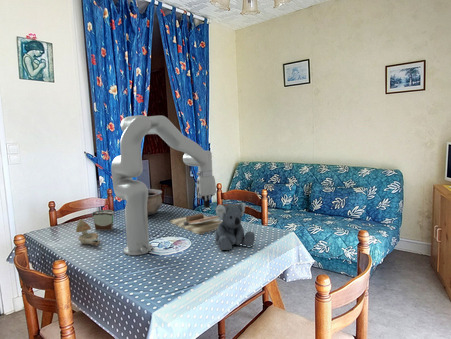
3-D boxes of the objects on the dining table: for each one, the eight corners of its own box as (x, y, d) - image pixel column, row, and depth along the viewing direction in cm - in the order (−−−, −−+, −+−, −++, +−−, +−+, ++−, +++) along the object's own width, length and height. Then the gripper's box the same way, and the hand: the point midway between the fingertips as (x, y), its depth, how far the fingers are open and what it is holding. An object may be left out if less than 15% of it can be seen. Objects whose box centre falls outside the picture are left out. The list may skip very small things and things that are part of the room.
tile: (208, 217, 182) (208, 219, 182) (187, 221, 173) (188, 224, 173) (220, 215, 172) (221, 217, 172) (199, 220, 163) (200, 223, 163)
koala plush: (221, 253, 134) (219, 209, 132) (207, 240, 151) (206, 200, 148) (257, 247, 141) (256, 204, 138) (240, 235, 157) (239, 197, 155)
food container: (119, 226, 177) (118, 209, 176) (114, 230, 171) (113, 212, 170) (98, 226, 178) (97, 209, 177) (92, 230, 172) (91, 212, 171)
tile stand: (229, 226, 172) (229, 218, 171) (199, 234, 160) (198, 226, 159) (198, 216, 195) (198, 209, 195) (170, 222, 183) (170, 215, 182)
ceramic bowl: (153, 208, 217) (152, 187, 216) (169, 214, 201) (168, 191, 199) (122, 214, 203) (120, 192, 202) (136, 221, 187) (135, 196, 185)
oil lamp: (90, 235, 163) (88, 217, 162) (106, 246, 147) (105, 225, 146) (72, 240, 157) (71, 220, 156) (87, 251, 141) (85, 229, 140)
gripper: (197, 176, 160) (199, 211, 162) (220, 172, 169) (221, 206, 172) (189, 174, 166) (191, 208, 168) (212, 171, 175) (213, 203, 177)
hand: (206, 207), depth 170 cm, fingers closed
